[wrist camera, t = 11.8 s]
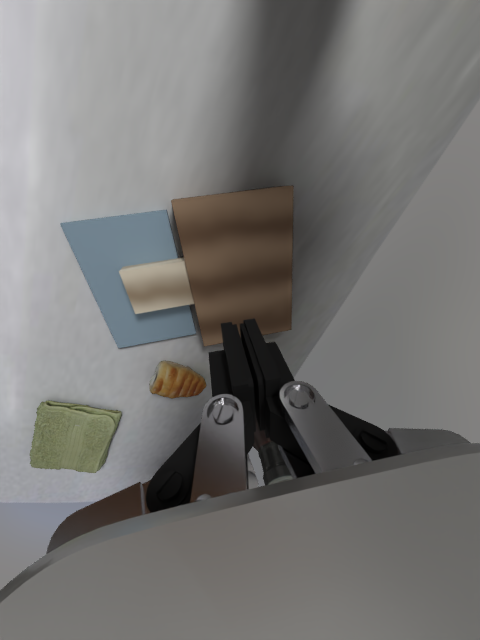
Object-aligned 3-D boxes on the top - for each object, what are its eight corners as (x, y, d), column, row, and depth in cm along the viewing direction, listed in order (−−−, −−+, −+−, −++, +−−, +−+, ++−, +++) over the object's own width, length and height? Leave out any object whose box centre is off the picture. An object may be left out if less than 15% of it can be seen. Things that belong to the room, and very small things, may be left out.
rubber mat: (62, 222, 27) (59, 223, 26) (166, 209, 28) (166, 210, 28) (119, 346, 36) (118, 348, 36) (196, 331, 37) (196, 333, 37)
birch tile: (122, 266, 30) (118, 271, 28) (184, 257, 31) (184, 261, 29) (138, 307, 33) (135, 314, 31) (194, 297, 34) (194, 303, 32)
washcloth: (125, 405, 43) (121, 420, 40) (105, 461, 50) (100, 477, 47) (41, 392, 38) (30, 408, 36) (31, 456, 45) (20, 473, 42)
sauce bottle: (255, 348, 41) (299, 460, 24) (271, 368, 44) (321, 479, 27) (225, 367, 42) (248, 488, 25) (243, 385, 45) (275, 504, 28)
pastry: (211, 369, 42) (212, 384, 39) (197, 394, 45) (197, 410, 41) (159, 356, 39) (156, 371, 35) (147, 384, 41) (144, 401, 38)
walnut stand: (172, 199, 28) (171, 200, 25) (284, 185, 29) (293, 185, 27) (203, 335, 38) (204, 346, 35) (284, 320, 39) (291, 329, 37)
